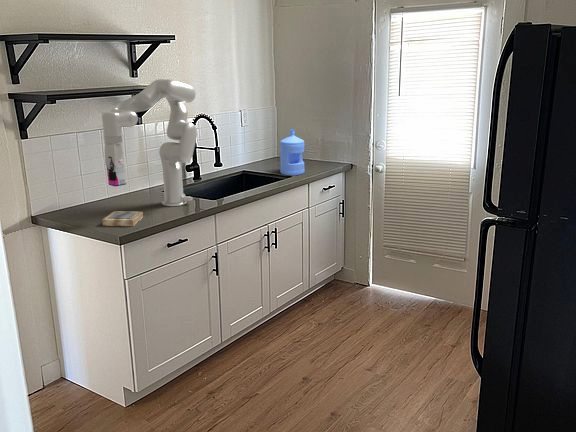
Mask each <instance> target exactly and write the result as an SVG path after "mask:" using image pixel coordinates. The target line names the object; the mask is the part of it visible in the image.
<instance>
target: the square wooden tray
mask: <svg viewBox="0 0 576 432" xmlns="http://www.w3.org/2000/svg"><path fill="white" fill-rule="evenodd" d="M143 218H144V212H143V211H125V210H124V211H117V210H116V211H112V212H111V213H109V214H108V215H107V216H105V217H104V218H102V219H101V221H102V226H103V227H104V226H105V227H134V226H135V225H137V224H138V223H139V222H140V221H141V220H142V219H143ZM138 221H139V222H138Z"/></svg>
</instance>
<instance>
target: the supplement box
mask: <svg viewBox="0 0 576 432" xmlns="http://www.w3.org/2000/svg"><path fill="white" fill-rule="evenodd" d="M111 165H114V163H113V162H111ZM112 168H113V167H112ZM125 171H126V169H125V162H124V159H123V160H119V163H118V165H117V166H116V167H115V172H116V178H117V180H116V181H110V180H109V172H108V169H107V168H106V173H107V182H108V185H109V186H112V187H119V186H125V185H127V181H126V172H125Z"/></svg>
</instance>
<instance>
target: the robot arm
mask: <svg viewBox="0 0 576 432" xmlns="http://www.w3.org/2000/svg"><path fill="white" fill-rule="evenodd" d="M163 98H166V100H167V102H168V105H169V107H170V114H169V119H168V124H167V129H166V135H167V138H168V139H170V140H172V141H168V142H167V141H166V142H164V143H162V144H161V145H160V147H159V153H158V154H159V157H160V161H161V168H162V177H163V191H164V200H162V201H161V205H162V206H166V207H181V206H183V205H186V204H187V202H188V201H189V202H190V201H191V202H192V199H193V198H192V196H190V195H189V196H186V194H185V193H184V187H183V186H184V184H183V169H182V165H181V163H183V164H186V163H189V162H190V161H191V159H192V158H193V156H194V151H195V147H196V142H197V138H198V137H197V136H198V132H197V128H196V125H195V124H194V123H192V122H191V121H190V122H189V121H188V113H189V112H188V107H187V106H186V103H188V104H189V103H192V102H193V101H194V100H195V98H196V91H195V88H194V87H193V86H192V85H190V84H187V83H184V82H180V81H178V80H175V79H164V78H162V79H161V78H159V79H158V78H157V79H155V80H153V81H152V82H151V83H150V84H149V85H147V86H146V87H145V88H144V89H143V90H141V91H140V92H139V93H137V94H135V95H132V96H131V97H129V98H126V99H124V100H122V101H120V102H118V103H117V104H116V105H115V106H113V108H112V109H110V111H104V112H103V113H102V114H101V119H102V129H103V130H102V131H103V139H104V161H105V162H104V163H105V164H104V165H105V166H106V170H107V169H108V172H109V180H110V181H116V180H117V178H116V172H115V167H116V166H117V165H118V163H119V160H124V151H123V146H122V144H123V135H122V128H131V127H134V126H136V125H137V124H138V121H139V120H138V119H139V118H138V114H137V113H140V112H145V111H148V110H150V109H152V108H153V107H154V106H156V104H157V103H159V102H160V101H161V100H162V99H163ZM174 141H179V142H174ZM111 162H113V163H114V165H111ZM112 167H113V168H112Z"/></svg>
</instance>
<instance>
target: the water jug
mask: <svg viewBox="0 0 576 432" xmlns="http://www.w3.org/2000/svg"><path fill="white" fill-rule="evenodd" d="M295 130H296V129H294V128H293V129H292V128H291V129H289V136H287V137H285V138H283V139H281V140H280V141H279V142H280V143H279V148H280V150H279V151H280V153H279V154H280V155H279V156H280V157H279V159H280V171H279V172H280V174H282V175H283V176H301V175H304V174H305V172H306V171H305V161H303V153H304V152H305V140H304V139H301V138H300V137H298V136H296V135H295V133H296V132H295Z"/></svg>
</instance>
